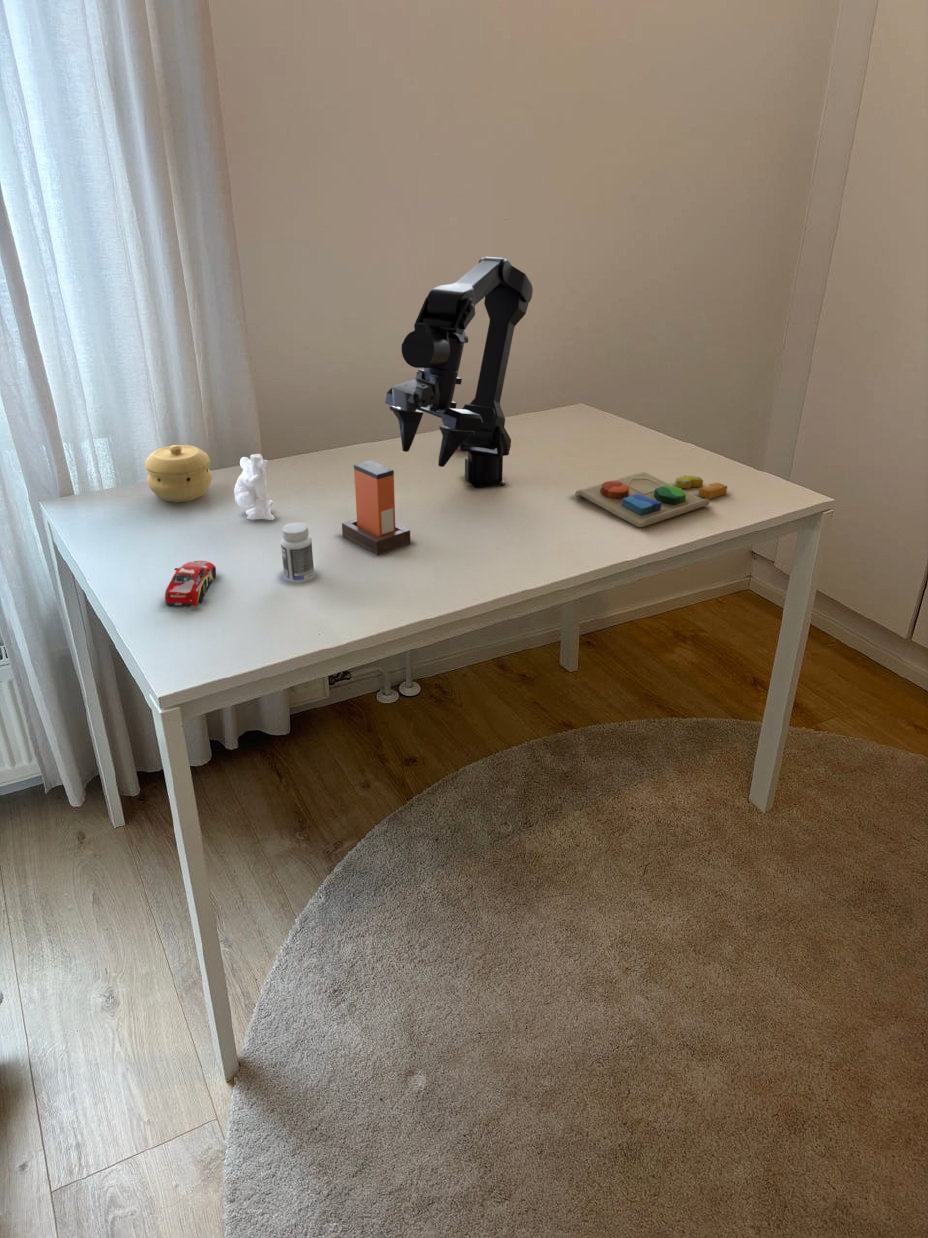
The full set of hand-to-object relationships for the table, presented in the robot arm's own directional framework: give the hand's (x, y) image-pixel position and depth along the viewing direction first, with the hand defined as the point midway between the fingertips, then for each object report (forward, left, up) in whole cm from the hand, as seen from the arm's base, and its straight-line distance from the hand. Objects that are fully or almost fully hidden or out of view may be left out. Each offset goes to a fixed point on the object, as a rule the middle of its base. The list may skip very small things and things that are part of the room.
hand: (422, 458), depth 165 cm
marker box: (+10, +7, -11) cm, 16 cm away
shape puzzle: (-44, +2, -11) cm, 46 cm away
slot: (+10, +7, -11) cm, 16 cm away
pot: (+41, -22, -11) cm, 48 cm away
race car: (+41, +18, -11) cm, 46 cm away
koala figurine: (+28, -9, -11) cm, 32 cm away
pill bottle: (+24, +17, -11) cm, 32 cm away
